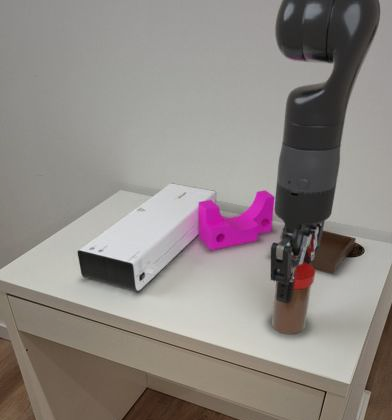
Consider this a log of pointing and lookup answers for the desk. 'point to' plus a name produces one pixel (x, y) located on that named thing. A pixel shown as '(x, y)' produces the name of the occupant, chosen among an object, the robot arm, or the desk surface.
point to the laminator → (145, 238)
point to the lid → (304, 276)
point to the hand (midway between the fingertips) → (292, 290)
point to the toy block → (235, 222)
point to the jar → (291, 312)
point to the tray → (331, 251)
